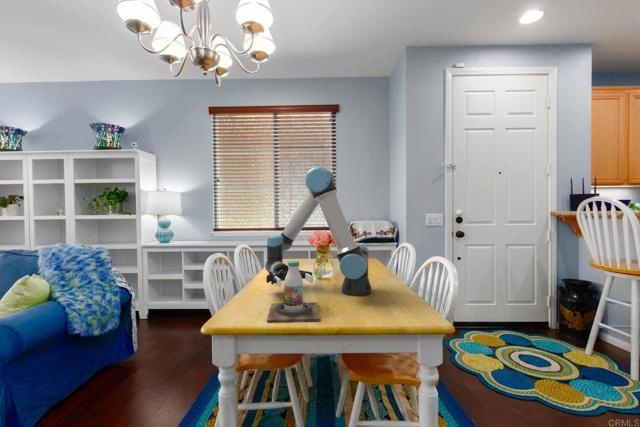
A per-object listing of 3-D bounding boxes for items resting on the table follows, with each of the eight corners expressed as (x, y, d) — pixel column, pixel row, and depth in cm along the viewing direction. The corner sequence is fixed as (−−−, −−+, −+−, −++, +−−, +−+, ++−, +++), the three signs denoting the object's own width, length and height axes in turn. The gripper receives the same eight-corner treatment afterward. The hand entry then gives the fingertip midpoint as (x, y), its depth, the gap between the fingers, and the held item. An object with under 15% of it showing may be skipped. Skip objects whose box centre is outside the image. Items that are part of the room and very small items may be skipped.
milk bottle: (285, 307, 133) (285, 259, 133) (303, 307, 133) (303, 259, 132) (282, 313, 125) (282, 263, 125) (302, 313, 125) (302, 263, 125)
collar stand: (317, 304, 140) (317, 299, 139) (320, 321, 120) (320, 314, 120) (271, 305, 138) (271, 299, 138) (266, 322, 118) (266, 315, 118)
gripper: (305, 276, 151) (324, 287, 131) (253, 281, 141) (265, 294, 121) (305, 261, 150) (324, 269, 131) (253, 265, 140) (265, 274, 121)
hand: (296, 281), depth 126 cm, fingers open, 13 cm apart
